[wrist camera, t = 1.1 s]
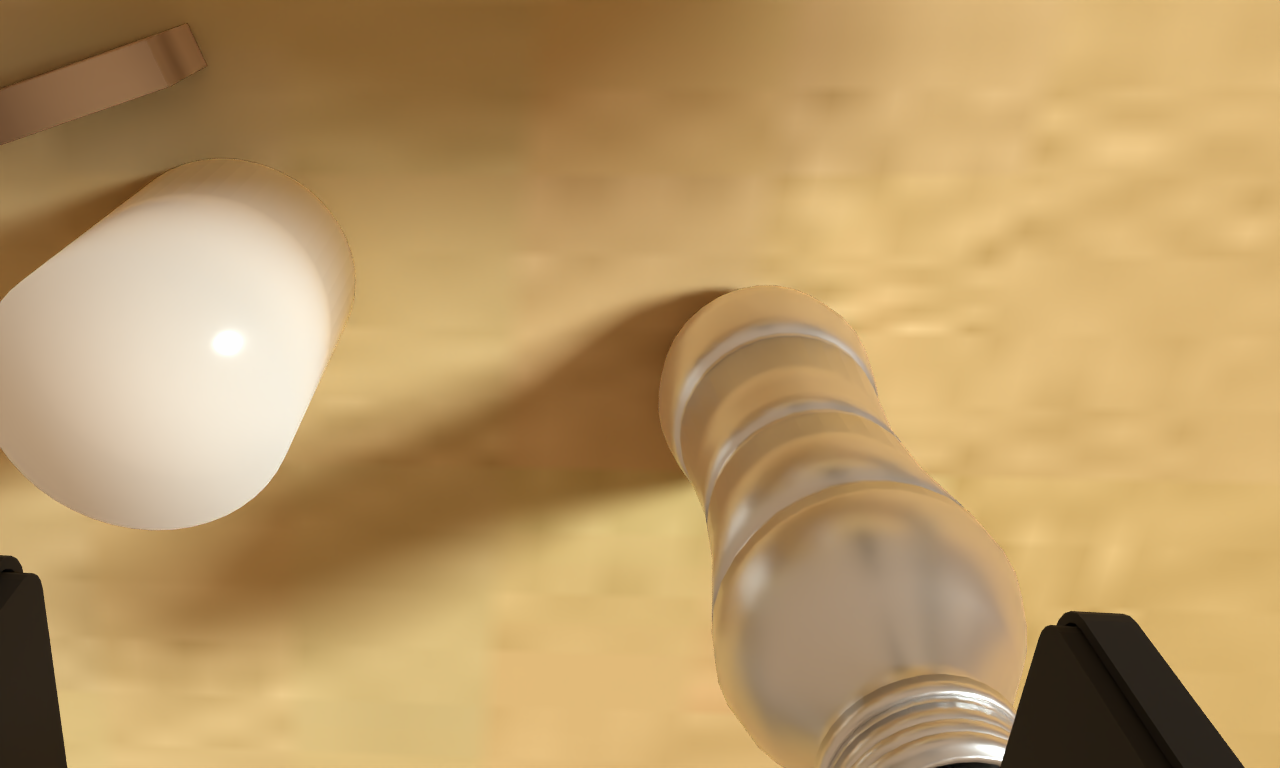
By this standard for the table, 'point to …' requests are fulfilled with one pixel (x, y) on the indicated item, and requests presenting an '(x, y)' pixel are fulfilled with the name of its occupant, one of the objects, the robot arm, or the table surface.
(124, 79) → the tray
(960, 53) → the table surface
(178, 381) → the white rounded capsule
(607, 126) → the table surface
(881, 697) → the plastic bottle
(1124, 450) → the table surface
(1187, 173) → the table surface
